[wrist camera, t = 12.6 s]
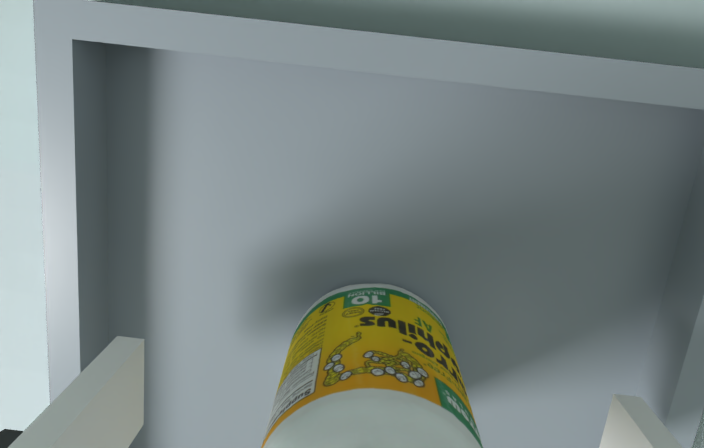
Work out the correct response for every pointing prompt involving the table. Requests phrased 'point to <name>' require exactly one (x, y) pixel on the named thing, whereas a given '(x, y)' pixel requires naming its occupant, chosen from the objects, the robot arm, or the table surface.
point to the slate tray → (367, 214)
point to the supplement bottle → (371, 377)
